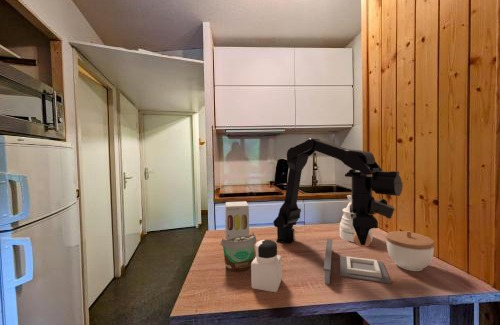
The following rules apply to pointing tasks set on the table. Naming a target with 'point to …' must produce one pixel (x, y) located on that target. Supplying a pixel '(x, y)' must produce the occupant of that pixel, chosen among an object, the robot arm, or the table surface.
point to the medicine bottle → (266, 267)
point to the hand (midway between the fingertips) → (362, 241)
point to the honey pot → (349, 224)
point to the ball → (359, 241)
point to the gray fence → (328, 261)
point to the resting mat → (363, 269)
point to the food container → (239, 252)
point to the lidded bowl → (410, 249)
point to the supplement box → (236, 219)
